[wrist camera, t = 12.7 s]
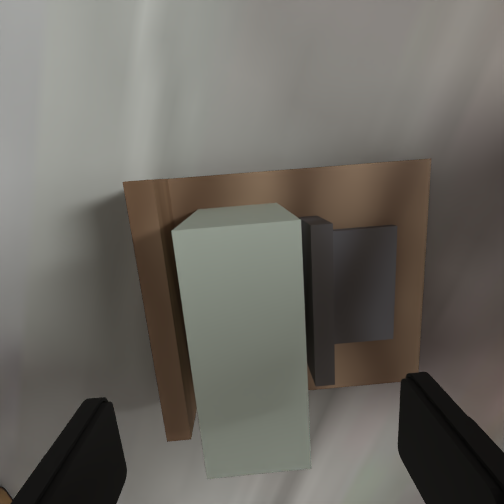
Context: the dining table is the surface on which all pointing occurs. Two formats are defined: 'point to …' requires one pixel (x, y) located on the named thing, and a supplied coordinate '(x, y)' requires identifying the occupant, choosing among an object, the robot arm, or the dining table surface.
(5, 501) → the santa figurine
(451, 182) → the dining table surface
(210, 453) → the pale green block
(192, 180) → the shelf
